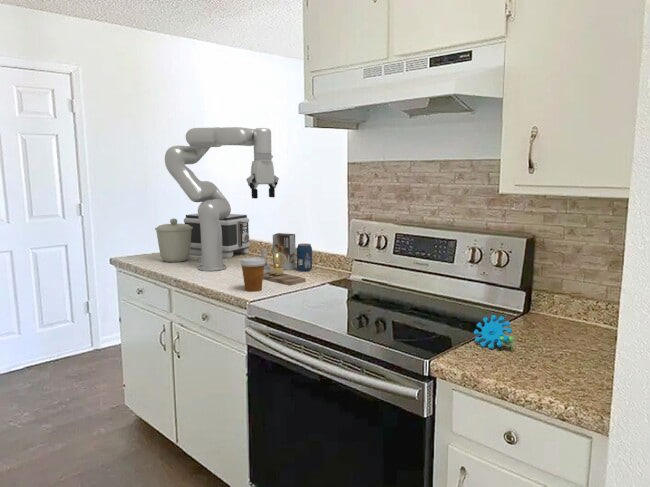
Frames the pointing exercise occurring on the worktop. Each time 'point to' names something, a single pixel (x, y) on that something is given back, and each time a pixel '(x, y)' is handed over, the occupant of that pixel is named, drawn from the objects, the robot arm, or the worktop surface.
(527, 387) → the worktop surface
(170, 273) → the worktop surface
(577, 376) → the worktop surface
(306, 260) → the soda can
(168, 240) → the canister
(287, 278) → the gauge board
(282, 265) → the coffee box
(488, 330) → the gear
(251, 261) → the disposable coffee cup
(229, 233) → the microwave oven
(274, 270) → the sliding leg
